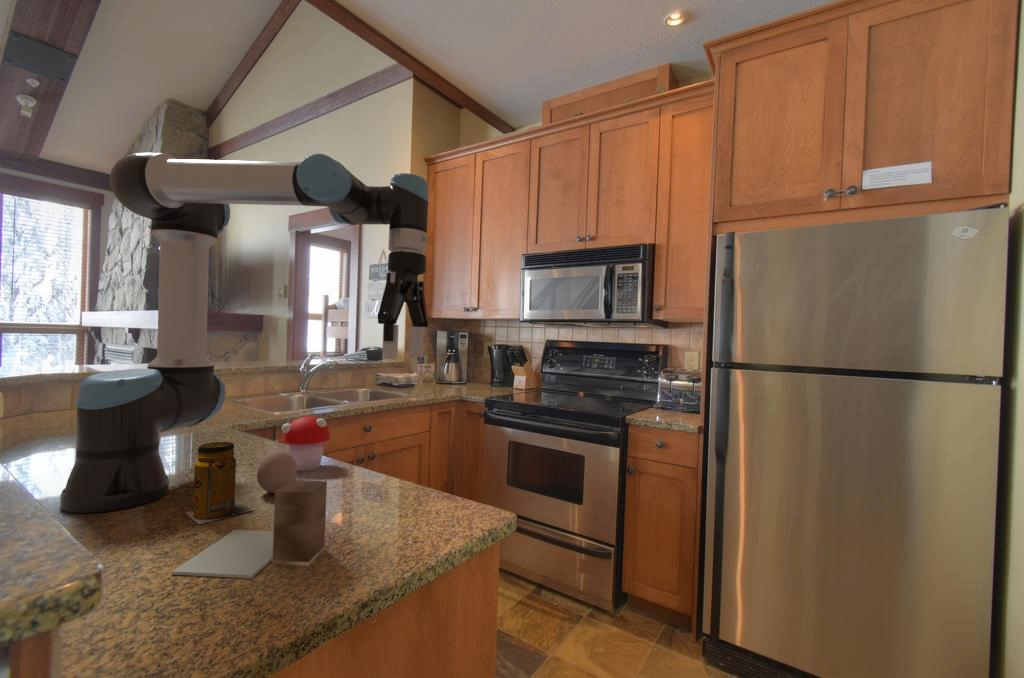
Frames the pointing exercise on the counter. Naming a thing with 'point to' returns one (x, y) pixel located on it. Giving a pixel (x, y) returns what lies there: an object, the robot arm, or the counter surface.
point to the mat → (232, 556)
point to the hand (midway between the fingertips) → (403, 358)
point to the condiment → (215, 484)
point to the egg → (276, 470)
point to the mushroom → (306, 441)
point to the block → (299, 522)
